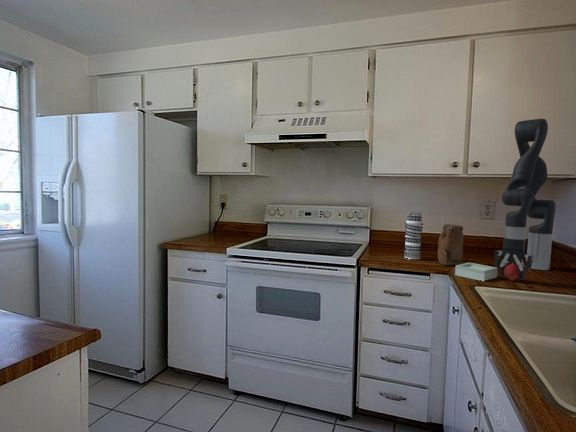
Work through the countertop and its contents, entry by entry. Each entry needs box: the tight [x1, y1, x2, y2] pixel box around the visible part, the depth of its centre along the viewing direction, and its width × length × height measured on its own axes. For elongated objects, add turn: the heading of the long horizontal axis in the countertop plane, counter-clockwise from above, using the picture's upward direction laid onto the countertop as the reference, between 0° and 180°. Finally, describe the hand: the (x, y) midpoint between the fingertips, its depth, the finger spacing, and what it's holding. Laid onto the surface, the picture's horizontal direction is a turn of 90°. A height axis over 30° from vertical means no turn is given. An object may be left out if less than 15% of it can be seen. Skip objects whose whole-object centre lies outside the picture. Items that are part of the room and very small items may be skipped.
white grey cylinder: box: [403, 211, 424, 260], centre depth 183 cm, size 9×9×25 cm
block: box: [437, 223, 464, 266], centre depth 170 cm, size 11×8×20 cm
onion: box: [504, 261, 520, 282], centre depth 141 cm, size 6×6×8 cm
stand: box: [454, 262, 499, 282], centre depth 148 cm, size 12×12×4 cm
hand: (511, 277), depth 141 cm, fingers closed on onion, 6 cm apart
